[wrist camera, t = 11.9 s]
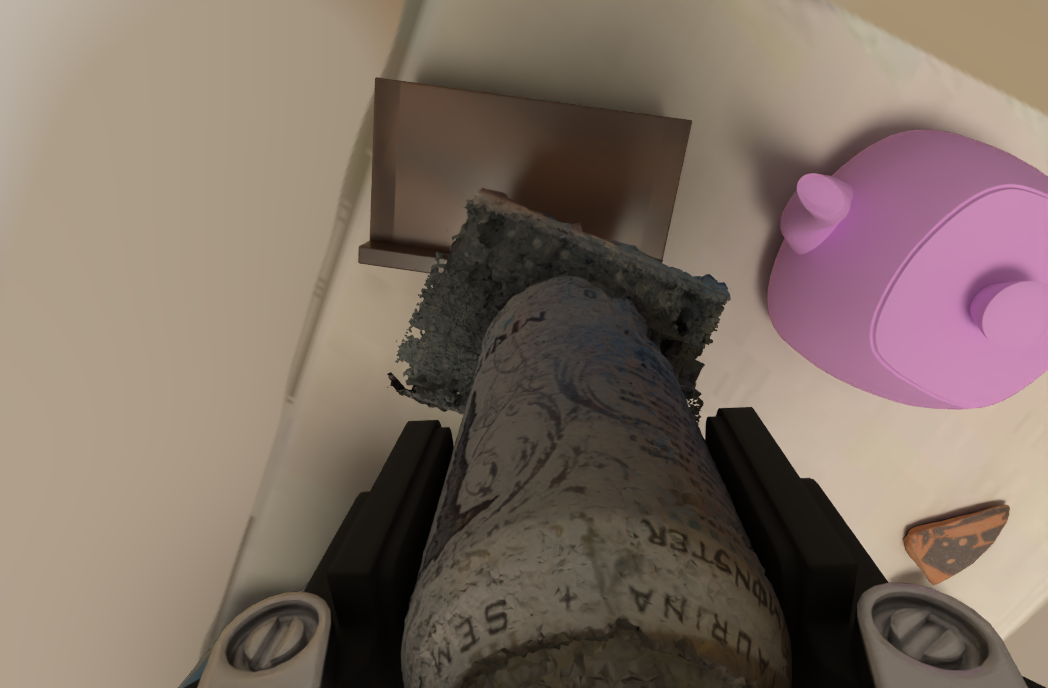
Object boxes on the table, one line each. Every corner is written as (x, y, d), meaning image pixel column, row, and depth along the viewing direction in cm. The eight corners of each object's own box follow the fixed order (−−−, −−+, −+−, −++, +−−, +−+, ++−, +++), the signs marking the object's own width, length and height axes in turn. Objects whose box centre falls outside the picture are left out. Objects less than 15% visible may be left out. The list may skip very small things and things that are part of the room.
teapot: (798, 52, 30) (924, 6, 20) (1095, 236, 32) (1352, 284, 22) (658, 272, 34) (701, 331, 24) (928, 422, 37) (1075, 536, 26)
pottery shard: (928, 594, 40) (909, 544, 38) (915, 578, 41) (896, 529, 39) (1030, 557, 38) (1015, 503, 37) (1014, 542, 40) (998, 490, 38)
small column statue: (750, 236, 15) (1207, 601, 4) (668, 474, 18) (806, 1045, 7) (412, 169, 15) (-19, 352, 4) (388, 417, 18) (102, 896, 7)
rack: (413, 88, 32) (362, 73, 24) (665, 122, 32) (700, 119, 24) (405, 232, 35) (358, 263, 27) (637, 265, 34) (659, 306, 26)
